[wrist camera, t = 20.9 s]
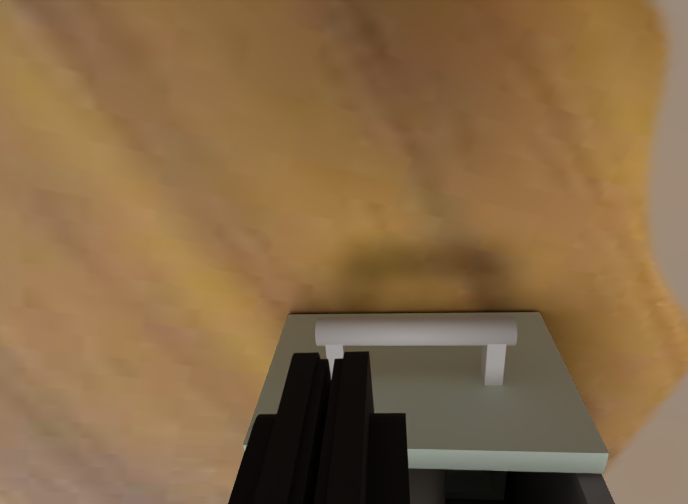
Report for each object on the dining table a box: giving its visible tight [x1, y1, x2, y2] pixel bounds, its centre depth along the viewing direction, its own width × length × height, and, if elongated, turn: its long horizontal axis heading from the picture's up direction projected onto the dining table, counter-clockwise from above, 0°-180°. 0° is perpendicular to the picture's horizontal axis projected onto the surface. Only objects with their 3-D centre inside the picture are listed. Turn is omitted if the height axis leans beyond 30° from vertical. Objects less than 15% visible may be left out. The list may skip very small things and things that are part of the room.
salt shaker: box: [408, 468, 448, 504], centre depth 31 cm, size 6×6×13 cm
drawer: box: [243, 312, 609, 500], centre depth 32 cm, size 20×18×12 cm
